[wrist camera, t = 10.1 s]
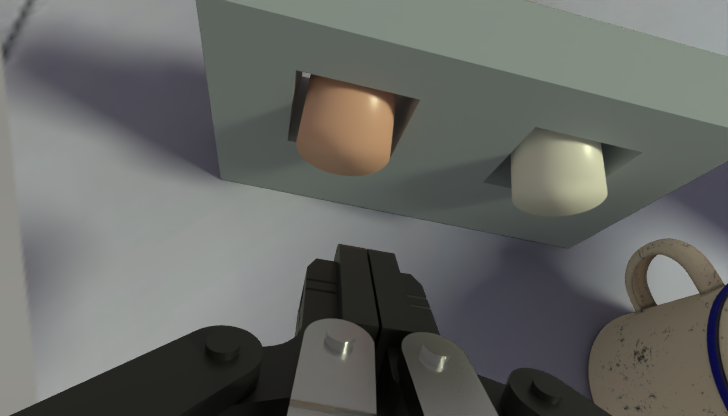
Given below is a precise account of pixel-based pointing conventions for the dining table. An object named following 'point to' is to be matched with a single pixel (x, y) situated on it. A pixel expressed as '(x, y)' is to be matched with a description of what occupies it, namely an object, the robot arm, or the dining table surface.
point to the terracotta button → (346, 127)
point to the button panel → (463, 103)
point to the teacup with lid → (665, 344)
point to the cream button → (557, 174)
